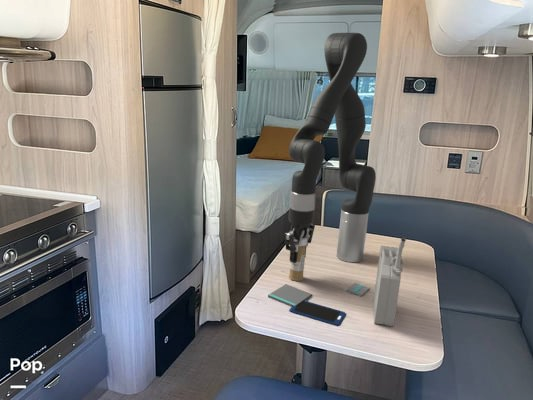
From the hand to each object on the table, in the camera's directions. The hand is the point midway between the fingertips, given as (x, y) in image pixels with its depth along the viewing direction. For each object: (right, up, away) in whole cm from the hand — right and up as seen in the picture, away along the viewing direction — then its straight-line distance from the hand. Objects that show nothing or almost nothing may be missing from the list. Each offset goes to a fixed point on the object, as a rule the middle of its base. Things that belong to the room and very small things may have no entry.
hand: (297, 259), depth 133 cm
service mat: (-3, -9, -10) cm, 14 cm away
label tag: (+18, -9, -4) cm, 20 cm away
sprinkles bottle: (0, -6, +2) cm, 6 cm away
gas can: (+22, -13, -17) cm, 30 cm away
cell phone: (+4, -12, -17) cm, 21 cm away
